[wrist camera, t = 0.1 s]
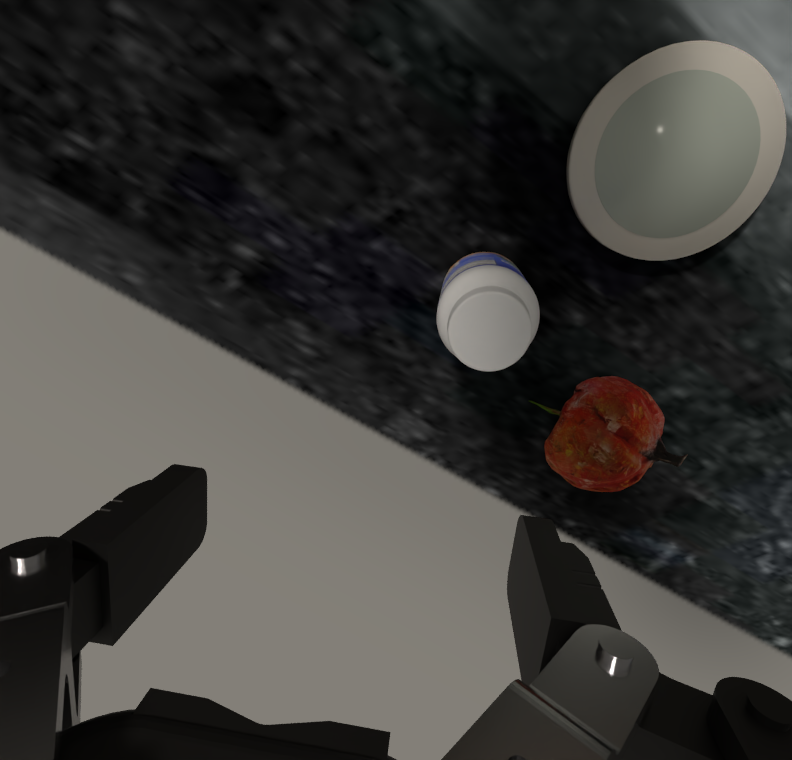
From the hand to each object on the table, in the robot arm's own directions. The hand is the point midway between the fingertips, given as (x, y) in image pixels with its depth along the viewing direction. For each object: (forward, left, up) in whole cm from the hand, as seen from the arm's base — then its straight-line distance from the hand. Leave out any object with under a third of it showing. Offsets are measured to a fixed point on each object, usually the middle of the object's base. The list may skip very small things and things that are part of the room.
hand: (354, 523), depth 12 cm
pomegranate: (-1, +14, -23) cm, 26 cm away
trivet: (-15, +7, -22) cm, 28 cm away
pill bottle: (-3, +3, -23) cm, 23 cm away
